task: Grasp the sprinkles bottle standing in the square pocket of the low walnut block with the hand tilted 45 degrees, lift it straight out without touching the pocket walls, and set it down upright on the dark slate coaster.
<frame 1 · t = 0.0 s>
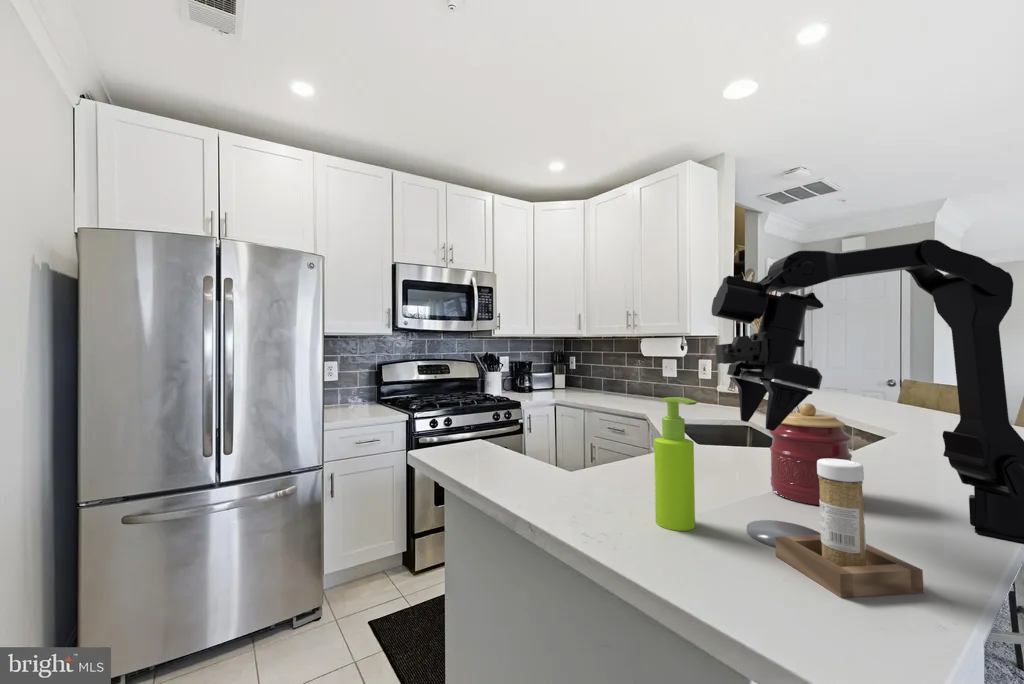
hand: (756, 425, 69), 15 cm above the countertop, tool pointing down, fingers open, 9 cm apart
soap dispenser: (677, 526, 68), on the countertop
sprinkles bottle: (843, 574, 52), resting in walnut pocket block
walnut pocket block: (843, 572, 52), on the countertop
slate coaster: (785, 537, 63), on the countertop
canister: (810, 497, 82), on the countertop
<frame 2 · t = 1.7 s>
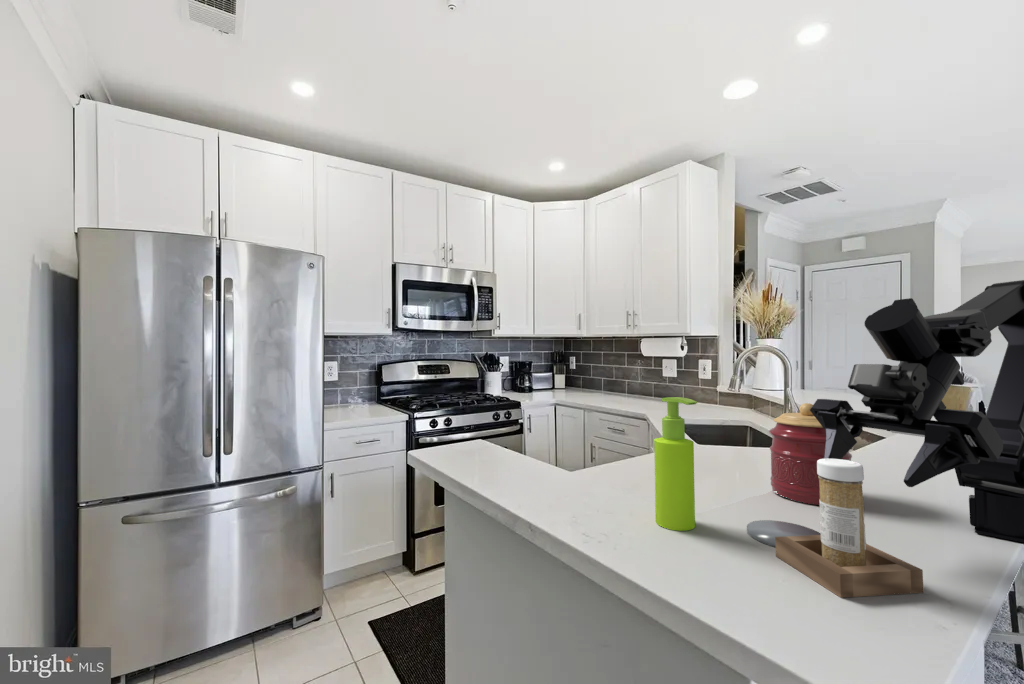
hand: (863, 474, 54), 11 cm above the countertop, tool tilted 45°, fingers open, 9 cm apart
nothing on the countertop moved.
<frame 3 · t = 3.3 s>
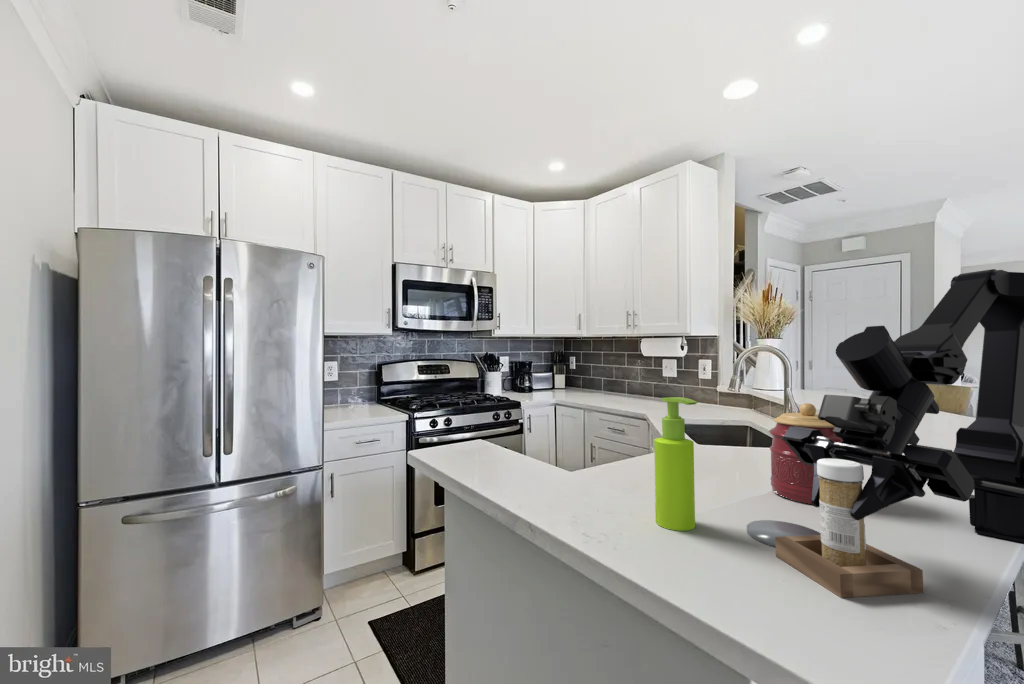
hand: (833, 510, 52), 8 cm above the countertop, tool tilted 45°, fingers closed on sprinkles bottle, 4 cm apart
sprinkles bottle: (843, 574, 52), resting in walnut pocket block, touching gripper
everything else where it was.
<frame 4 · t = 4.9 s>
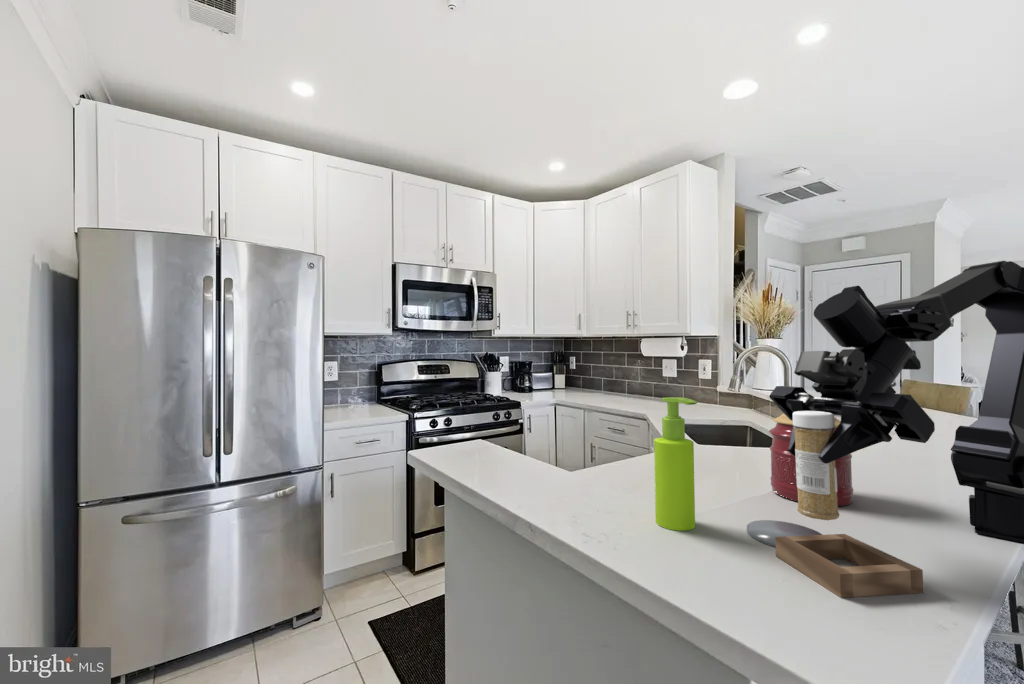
hand: (806, 457, 56), 13 cm above the countertop, tool tilted 45°, fingers closed on sprinkles bottle, 4 cm apart
sprinkles bottle: (817, 516, 56), point 5 cm above the countertop, touching gripper
everything else where it was.
when the fingers open (9 cm above the countertop, at t = 6.5 s): sprinkles bottle stays where it is, resting on slate coaster.
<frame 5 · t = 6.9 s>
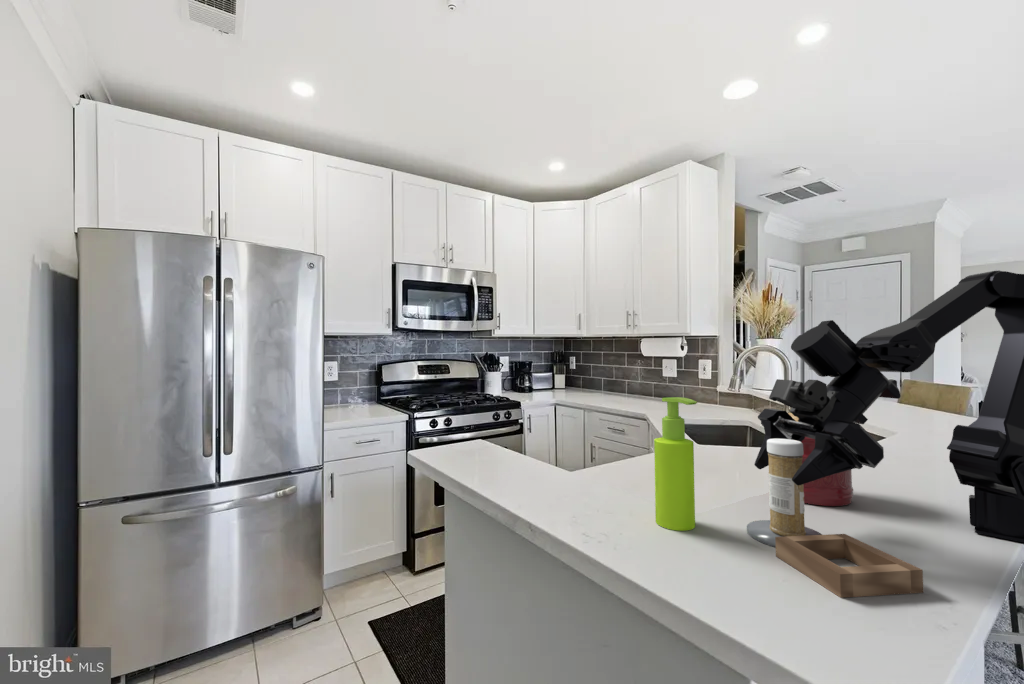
hand: (774, 474, 63), 9 cm above the countertop, tool tilted 45°, fingers open, 8 cm apart
sprinkles bottle: (787, 534, 63), resting on slate coaster
everything else where it was.
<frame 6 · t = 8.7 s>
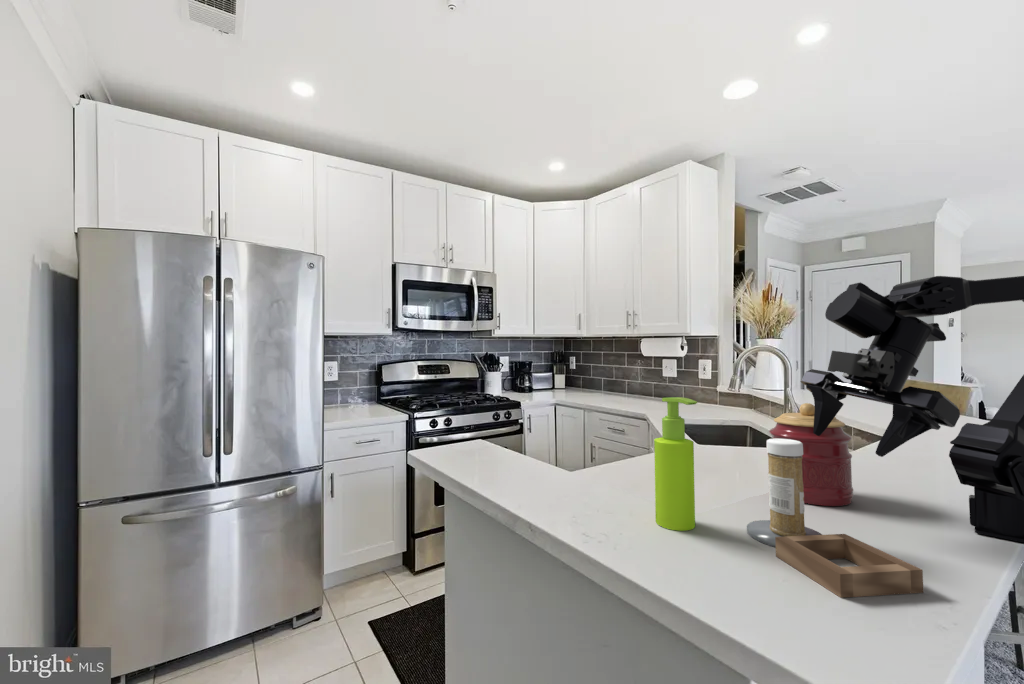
hand: (845, 444, 64), 13 cm above the countertop, tool tilted 30°, fingers open, 9 cm apart
nothing on the countertop moved.
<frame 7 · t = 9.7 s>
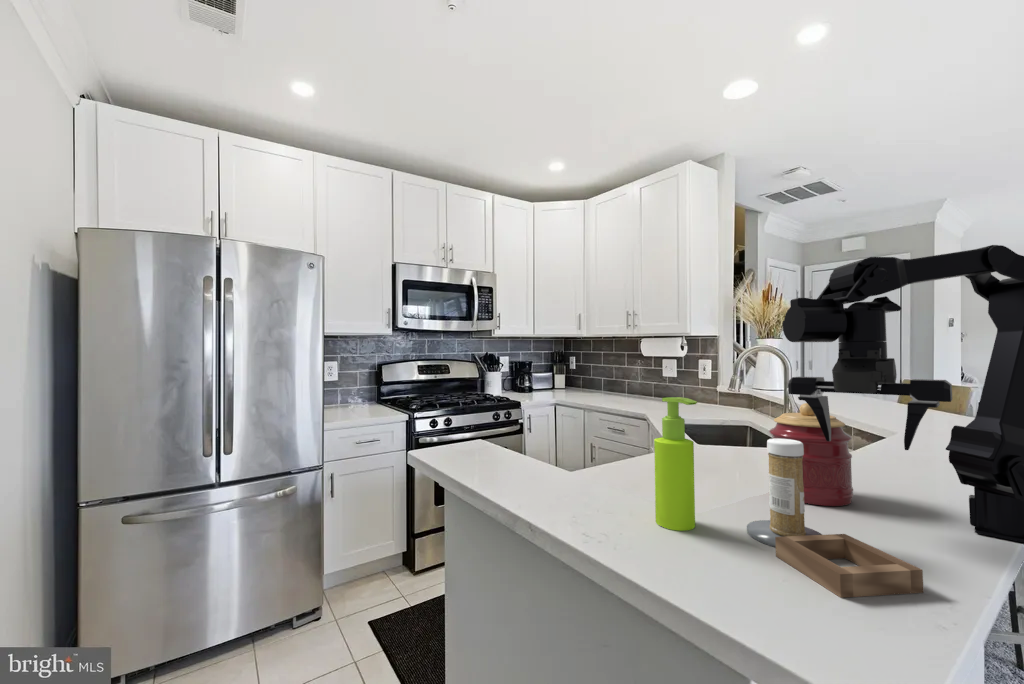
hand: (865, 445, 65), 13 cm above the countertop, tool pointing down, fingers open, 9 cm apart
nothing on the countertop moved.
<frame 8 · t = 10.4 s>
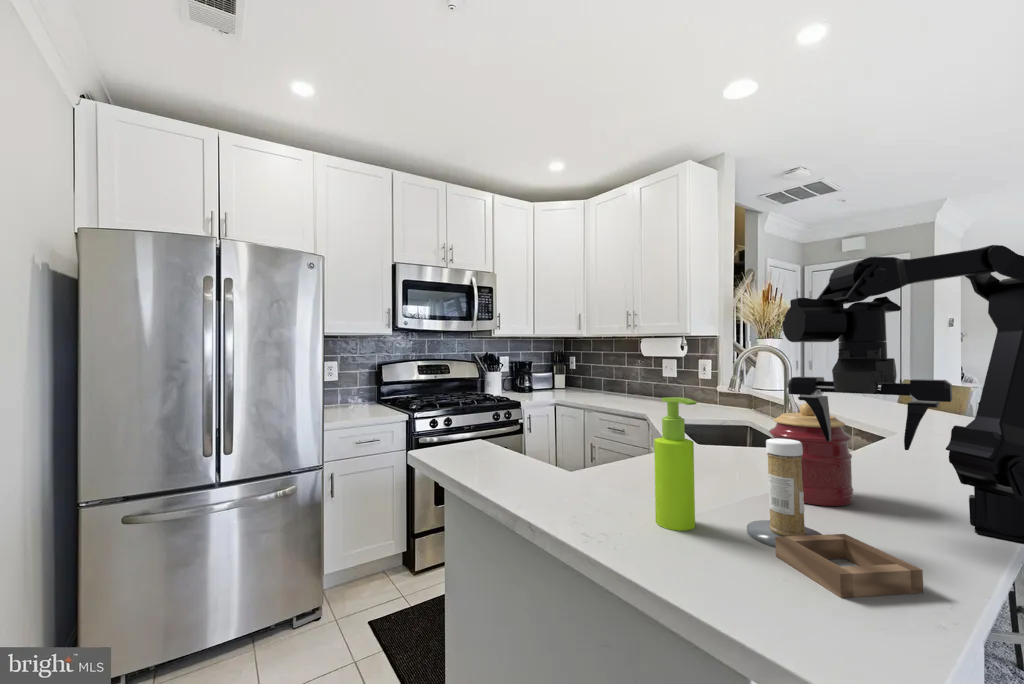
hand: (865, 445, 65), 13 cm above the countertop, tool pointing down, fingers open, 9 cm apart
nothing on the countertop moved.
at the end: sprinkles bottle inside the target area on the slate coaster (0.2 cm from its centre), point 0.4 cm above the slate coaster's base; sprinkles bottle tilted 0°; the gripper is holding nothing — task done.
